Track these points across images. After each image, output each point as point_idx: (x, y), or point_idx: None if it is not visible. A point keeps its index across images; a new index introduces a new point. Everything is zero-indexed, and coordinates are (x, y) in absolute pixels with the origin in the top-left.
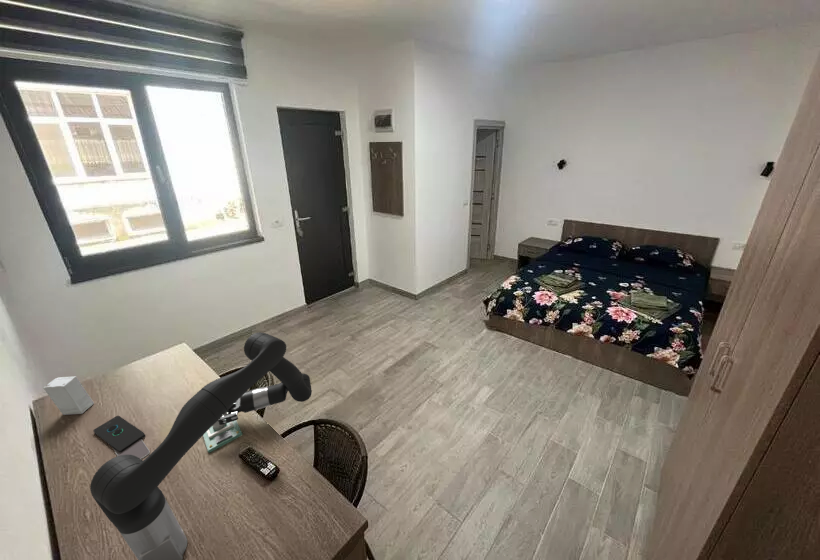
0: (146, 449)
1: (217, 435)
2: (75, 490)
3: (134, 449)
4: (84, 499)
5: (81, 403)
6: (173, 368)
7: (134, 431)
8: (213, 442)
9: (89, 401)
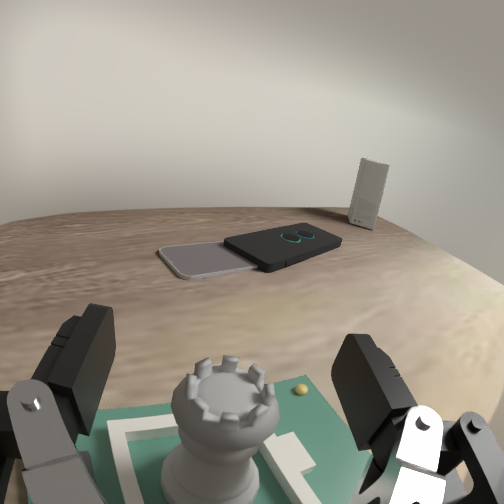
0: (203, 272)
1: (112, 471)
2: (154, 217)
3: (219, 258)
4: (118, 222)
5: (361, 208)
6: (483, 293)
7: (285, 252)
8: None
9: (371, 219)
